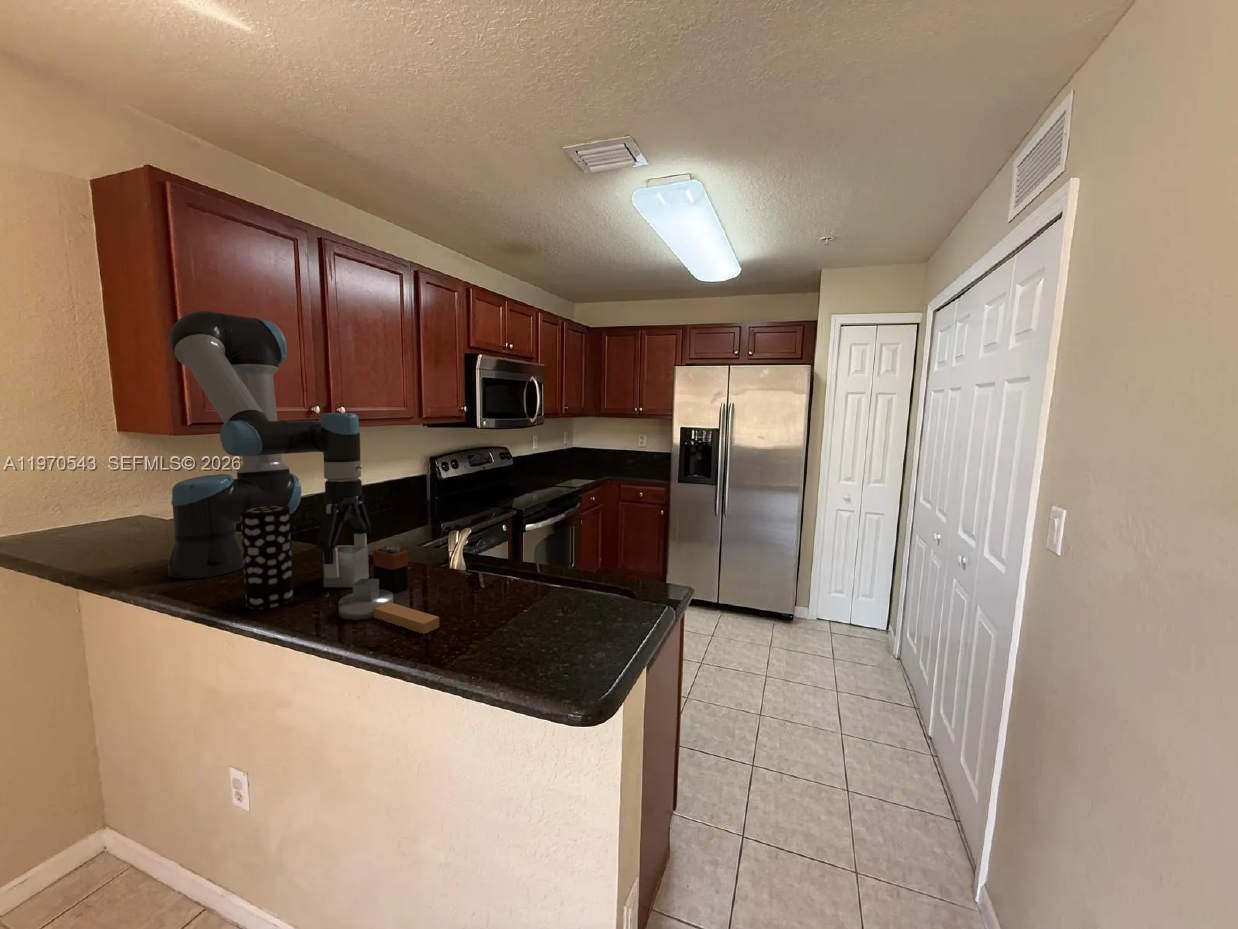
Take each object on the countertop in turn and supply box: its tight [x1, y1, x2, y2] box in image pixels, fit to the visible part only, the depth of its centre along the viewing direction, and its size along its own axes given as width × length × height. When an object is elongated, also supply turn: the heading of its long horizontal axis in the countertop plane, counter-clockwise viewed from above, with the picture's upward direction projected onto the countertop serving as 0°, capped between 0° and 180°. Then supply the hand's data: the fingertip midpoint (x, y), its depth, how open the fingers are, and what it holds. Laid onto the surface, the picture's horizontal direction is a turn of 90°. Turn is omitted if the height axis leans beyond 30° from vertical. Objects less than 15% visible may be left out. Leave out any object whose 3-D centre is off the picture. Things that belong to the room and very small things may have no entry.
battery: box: [372, 544, 409, 595], centre depth 113 cm, size 4×7×10 cm, turn 62°
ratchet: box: [338, 578, 440, 635], centre depth 98 cm, size 24×10×6 cm, turn 62°
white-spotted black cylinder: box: [240, 505, 295, 610], centre depth 103 cm, size 8×8×20 cm
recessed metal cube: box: [322, 544, 370, 588], centre depth 116 cm, size 7×7×8 cm
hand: (347, 567), depth 116 cm, fingers open, 13 cm apart
